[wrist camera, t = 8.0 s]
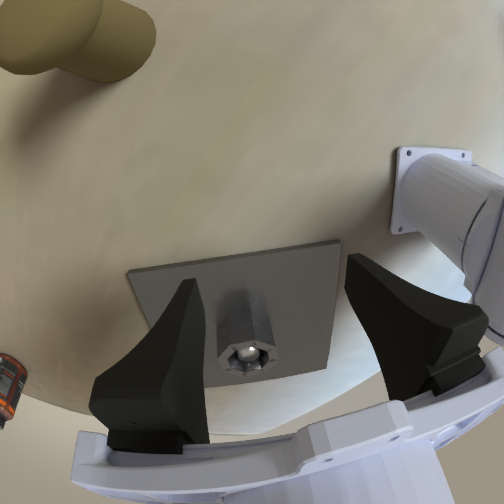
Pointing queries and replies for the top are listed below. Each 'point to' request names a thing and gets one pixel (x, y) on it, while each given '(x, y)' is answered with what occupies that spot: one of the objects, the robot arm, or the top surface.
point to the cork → (75, 37)
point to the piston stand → (257, 303)
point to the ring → (246, 344)
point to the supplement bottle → (10, 386)
